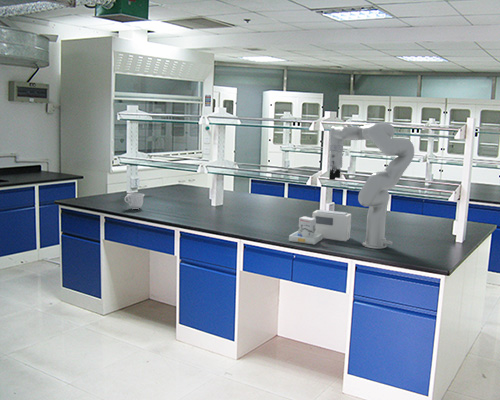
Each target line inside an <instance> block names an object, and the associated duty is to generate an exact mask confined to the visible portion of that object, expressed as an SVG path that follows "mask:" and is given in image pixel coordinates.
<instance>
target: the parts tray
mask: <svg viewBox="0 0 500 400" xmlns="http://www.w3.org/2000/svg"><path fill="white" fill-rule="evenodd" d="M323 239H324V238H323V234H320V233H315V238H314V239H313V238H306V237H299V236H298V230H297V231H295V232H293V233H290V234H288V241H289V242H295V243H301V244H308V245H316V244H318V243H319V242H321V241H322V240H323Z"/></svg>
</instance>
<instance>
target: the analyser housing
mask: <svg viewBox="0 0 500 400" xmlns="http://www.w3.org/2000/svg"><path fill="white" fill-rule="evenodd" d="M311 218H315V219H316V229H315V233H320V234H323V239H328V240H332V241H333V240H334V241H341V242H347V241H348V240H350V238H351V226H352V213H348V212H345V211H336V210H327V209H316V210H314V211H313V212H312V217H311Z"/></svg>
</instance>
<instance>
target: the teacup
mask: <svg viewBox="0 0 500 400" xmlns="http://www.w3.org/2000/svg"><path fill="white" fill-rule="evenodd" d="M144 197H145V194H144V193H140V192H132V193H127V194H126V196H124V202H125V203H127V204H128V205H129V207H130V208H131V210H133V209H138V210H140V209H141V207H143V205H144V204H143V203H144ZM139 208H140V209H139Z"/></svg>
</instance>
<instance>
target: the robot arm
mask: <svg viewBox="0 0 500 400" xmlns="http://www.w3.org/2000/svg"><path fill="white" fill-rule="evenodd" d="M395 133H396V131H395V128H394V126H393V125H392V124H390V123H388V122H387V123H386V122H385V123H384V122H383V123H382V122H376V123H371V124H370V123H369V124H368V123H367V124H365V125H363V126H360V125H359V126H339V125H336V126H331V127H330V136H329V137H330V138H329V152H330V153H329V154H330V155H329V177H328V178H329V180H330V181H331V180H332V181H335V180H336V179H340V178H341V170H342V168H343V152H344V142H345V141H364V140H365V141H371V142H372V143H373V144H374V145H375V146H376V147H377V148H378V149H379V151H380V152H381V153H382V154H384V155H385V156H387V157H388V156H390V157H392V156H395V157H394V158H393V159H392V160H390V162H389V163H388V165H387V166H386V168H385V169H384V170H382V171H376V172H373V173H372V174H370V175H369V176H368V177H367V179H366V181H365V182H364V184H363V186H362V188H361V189H360V190H359V192H358V196H357V198H358V199H357V200H358V203H359V204H360V205H361V206H363V207H366V208H368V210H367V216H366V230H365V232H366V233H365V241H362V243H361V244H362V246H363V247H364V248H368V249H375V250H376V249H377V250H378V249H379V250H381V249H385V248H386V249H387V245H389V246H392V245H393V241H391V240H387V238H386V237H385V233H386V220H387V219H386V218H387V210H388V205H389V201H390V194H389V191H388V190H392V189H394V188H395V187H396V185H397V184H398V182H399V181H400V179H401V177H402V176H403V175H404V173H405V171H406V170H407V169H408V167H409V166H410V165H411V163H412V161H413V159H414V156H415V146H414V144H413V142H412V141H411V140H410V139H408V138H404V137H394V135H395Z"/></svg>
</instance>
